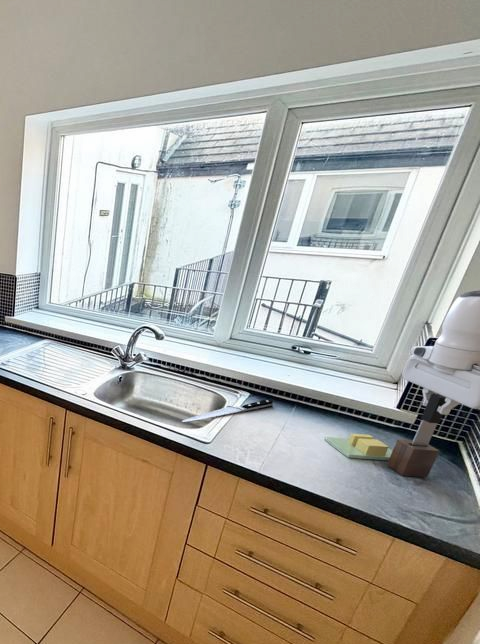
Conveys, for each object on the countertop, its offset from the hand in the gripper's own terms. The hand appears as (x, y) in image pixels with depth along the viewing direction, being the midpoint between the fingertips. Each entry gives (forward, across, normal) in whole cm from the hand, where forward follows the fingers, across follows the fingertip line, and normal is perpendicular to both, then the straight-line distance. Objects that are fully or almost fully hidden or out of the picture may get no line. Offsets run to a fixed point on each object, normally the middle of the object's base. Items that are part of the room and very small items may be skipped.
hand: (434, 409), depth 105 cm
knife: (+11, 0, 0) cm, 11 cm away
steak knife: (+18, +29, +33) cm, 48 cm away
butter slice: (+17, +12, +4) cm, 21 cm away
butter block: (+17, +8, +4) cm, 19 cm away
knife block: (+18, 0, 0) cm, 18 cm away
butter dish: (+18, +10, +4) cm, 21 cm away
